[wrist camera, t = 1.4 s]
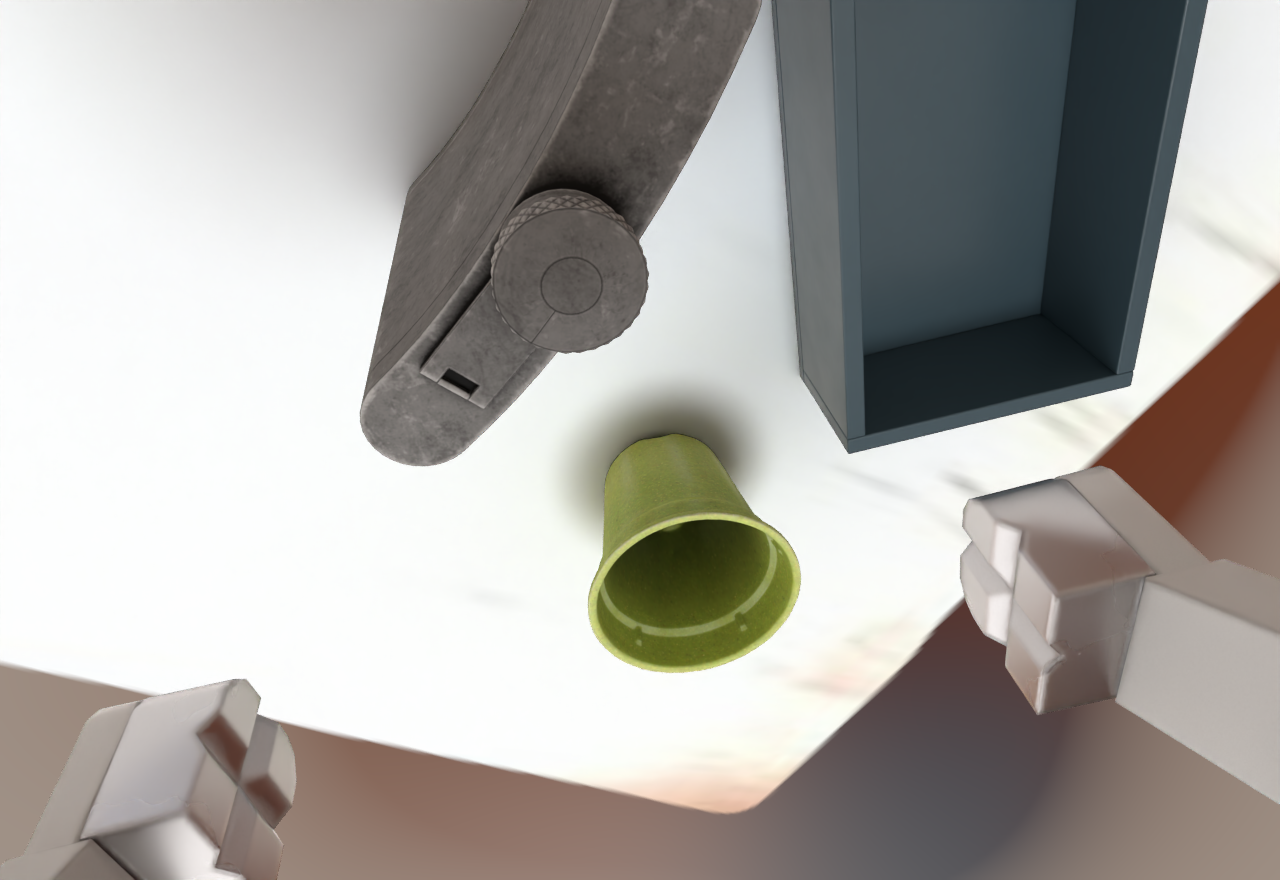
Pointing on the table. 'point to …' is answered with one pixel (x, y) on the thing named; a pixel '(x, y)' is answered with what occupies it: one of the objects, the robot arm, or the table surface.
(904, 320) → the tote
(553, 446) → the table surface
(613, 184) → the flask
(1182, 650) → the robot arm
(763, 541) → the plant pot
